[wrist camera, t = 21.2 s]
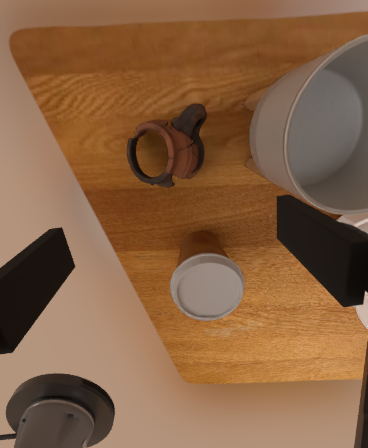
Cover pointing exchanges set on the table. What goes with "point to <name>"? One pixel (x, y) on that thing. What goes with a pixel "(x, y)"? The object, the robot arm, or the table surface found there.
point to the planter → (316, 130)
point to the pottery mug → (174, 146)
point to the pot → (364, 222)
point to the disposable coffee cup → (206, 279)
